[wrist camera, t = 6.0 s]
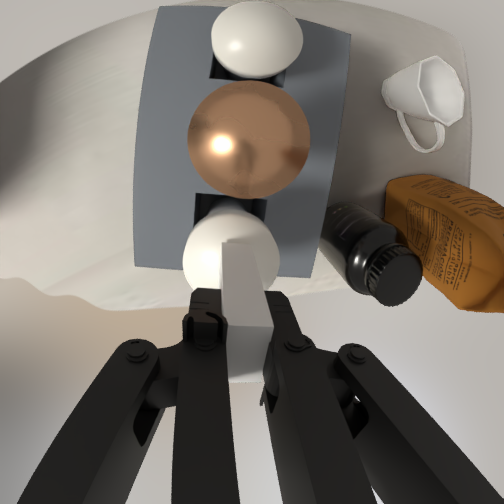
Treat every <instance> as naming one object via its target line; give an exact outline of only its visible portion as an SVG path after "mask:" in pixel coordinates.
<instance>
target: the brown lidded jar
mask: <svg viewBox="0 0 504 504" xmlns="http://www.w3.org/2000/svg"><path fill="white" fill-rule="evenodd" d="M187 144H188V151H189V155H190V159H191V161H192V164H193V166H194V167H195V169H196V171H197V172H198V174H199V175H200V176H201V178H202V179H203V180H204V181H205V182H206V183H207V184H209V185H210V186H211V187H212V188H214V189H216V190H217V191H219V192H221V193H223V194H226V195H228V196H232V197H235V198H242V199H255V198H262V197H266V196H269V195H272V194H274V193H276V192H278V191H280V190H282V189H283V188H285V187H286V186H288V185H289V184H290V183H291V182H292V181H293V180H294V179H295V178H296V177H297V176H298V174H299V173H300V172H301V170H302V168H303V167H304V165H305V163H306V160H307V157H308V154H309V149H310V130H309V125H308V122H307V119H306V116H305V114H304V112H303V110H302V109H301V107H300V106H299V104H298V103H297V102H296V101H295V100H294V99H293V98H292V97H291V96H290V95H289V94H288V93H286V92H285V91H283V90H282V89H280V88H278V87H276V86H274V85H271V84H269V83H265V82H261V81H252V80H246V81H237V82H233V83H230V84H226V85H224V86H222V87H220V88H218V89H216V90H215V91H213V92H212V93H210V94H209V95H208V96H207V97H206V98H205V99H204V100H203V101H202V102H201V103H200V104H199V106H198V107H197V109H196V110H195V112H194V114H193V116H192V118H191V121H190V124H189V129H188V136H187Z"/></svg>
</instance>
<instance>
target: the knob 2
mask: <svg viewBox="0 0 504 504" xmlns="http://www.w3.org/2000/svg"><path fill="white" fill-rule="evenodd" d="M222 242H226V243H239V244H251V246H252V250H253V253H254V257H255V260H256V264H257V267H258V271H259V275H260V278H261V282H262V285H263V289H264V291H267V290H268V289H269V287H270V286H271V285H272V284H273V282H274V280H275V279H276V276H277V274H278V270H279V266H280V255H279V250H278V247H277V244H276V242H275V240H274V238H273V236H272V234H271V232H270V230H269V229H268V227H267V226H266V225H265V224H264V223H263V222H262V221H261V220H260V219H259V218H257V217H256V216H254V215H252V214H250V213H248V212H247V211H246V208H245V207H244V205H243V204H242V203H241V202H240V201H238V200H236V199H234V198H228V197H226V198H221V199H218V200H216V201H215V202H213V203H212V204H211V205H210V207H209V208H208V210H207V214H206V217H204V218H203V219H201V220H200V221H199V222H198V223H197V224H196V225H195V226H194V228H193V229H192V231H191V232H190V234H189V237H188V239H187V243H186V246H185V250H184V254H183V270H184V274H185V277H186V279H187V281H188V283H189V284H190V286H191V287H192V288H193V289H194V290H195V289H196V288H197V287H199V288H213V289H218V277H219V265H220V254H221V243H222Z"/></svg>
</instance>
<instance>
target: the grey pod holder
mask: <svg viewBox="0 0 504 504" xmlns="http://www.w3.org/2000/svg"><path fill="white" fill-rule="evenodd" d="M227 8H228V7H215V6H160V7H159V9H158V13H157V17H156V20H155V24H154V28H153V32H152V37H151V41H150V46H149V51H148V55H147V61H146V66H145V71H144V77H143V84H142V90H141V97H140V105H139V113H138V122H137V132H136V144H135V158H134V179H133V240H134V261H135V266H137V267H149V268H161V269H173V270H183V254H184V250H185V246H186V243H187V239H188V237H189V234H190V232H191V231H192V229H193V228H194V226H195V225H196V224H197V223H198V222H199V221H200V220H201V219H203V218H204V217H206V214H207V210H208V208H209V207H210V205H211V204H212V203H213V202H215V201H216V200H218V199H221V198H226V197H228V198H234V199H236V200H238V201H240V202H241V203H242V204H243V205H244V207H245V208H246V211H247V212H248V213H250V214H252V215H254V216H256V217H257V218H259V219H260V220H261V221H262V222H263V223H264V224H265V225H266V226H267V227H268V229H269V230H270V232H271V234H272V236H273V238H274V240H275V242H276V244H277V247H278V250H279V255H280V266H279V270H278V274H277V276H279V277H298V278H310V277H311V273H312V269H313V265H314V261H315V257H316V253H317V248H318V244H319V240H320V235H321V231H322V226H323V221H324V217H325V212H326V207H327V202H328V197H329V192H330V187H331V182H332V176H333V171H334V165H335V159H336V153H337V147H338V141H339V135H340V128H341V121H342V114H343V107H344V99H345V91H346V83H347V74H348V64H349V53H350V41H351V34H348V33H345V32H342V31H339V30H336V29H333V28H330V27H327V26H324V25H320V24H317V23H313V22H309V21H305V20H301V19H297V18H295V19H296V20H297V22H298V23H299V25H300V27H301V30H302V34H303V45H302V49H301V52H300V54H299V55H298V57H297V58H296V59H295V60H294V61H293V62H292V63H291V64H290V65H289V66H288V67H287V68H286V69H285V70H283V71H282V72H280V73H278V74H277V75H274V76H271V77H268V78H261V79H260V80H259V81H261V82H265V83H269V84H271V85H274V86H276V87H278V88H280V89H282V90H283V91H285V92H286V93H288V94H289V95H290V96H291V97H292V98H293V99H294V100H295V101H296V102H297V103H298V104H299V106H300V107H301V109H302V110H303V112H304V114H305V116H306V119H307V122H308V125H309V130H310V149H309V154H308V157H307V160H306V163H305V165H304V167H303V168H302V170H301V172H300V173H299V174H298V176H297V177H296V178H295V179H294V180H293V181H292V182H291V183H290V184H289V185H288V186H286V187H285V188H283V189H282V190H280V191H278V192H276V193H274V194H272V195H269V196H266V197H262V198H255V199H242V198H235V197H232V196H228V195H226V194H223V193H221V192H219V191H217V190H216V189H214V188H212V187H211V186H210V185H209V184H207V183H206V182H205V181H204V180H203V179H202V178H201V176H200V175H199V174H198V172H197V171H196V169H195V167H194V166H193V164H192V161H191V159H190V155H189V151H188V144H187V136H188V129H189V124H190V121H191V118H192V116H193V114H194V112H195V110H196V109H197V107H198V106H199V104H200V103H201V102H202V101H203V100H204V99H205V98H206V97H207V96H208V95H209V94H210V93H212V92H213V91H215V90H216V89H218V88H220V87H222V86H224V85H226V84H230V83H233V82H237V81H232V80H230V79H229V78H228V77H227V75H226V73H225V68H224V67H223V66H222V65H221V64H220V63H219V62H218V60H217V59H216V57H215V55H214V52H213V49H212V38H211V32H212V27H213V24H214V22H215V20H216V19H217V17H218V16H219V15H220V14H221V13H222V12H223V11H224V10H225V9H227Z"/></svg>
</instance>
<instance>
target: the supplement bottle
mask: <svg viewBox="0 0 504 504" xmlns="http://www.w3.org/2000/svg"><path fill="white" fill-rule="evenodd" d="M318 248H319V249H320V251H321V252H322V253H323V255H324V256H325V257H326V258H327V260H328V261H329V262H330V263H331V264H332V266H333V267H334V268H335V269H336V270H337V272H338V273H339V274H340V275H341V276H342V278H343V279H344V280H345V281H346V283H347V284H348V285H349V286H350V287H351V288H352V289H353V290H354V291H356V292H358V293H360V294H363V295H372V296H373V297H375V298H376V299H377V300H378V301H379V302H380V303H381V304H383V305H384V306H389V307H390V306H392V307H393V306H398V305H399V304H402V303H403V302H405V301H407V299H409V298H410V297H411V296H412V295H413V294H414V292H415V291H416V290H417V288H418V286H419V285H420V282H421V280H422V276H423V264H422V260H421V259H420V257H419V256H418V255H416V253H414V252H413V251H412V250H411V249H410V248H409V244H408V241H407V238H406V236H405V235H404V233H403V232H402V231H401V230H400V229H399V228H398V227H396V226H395V225H393V224H391V223H390V222H388V221H386V220H385V219H383V218H381V217H379V216H378V215H376V214H374V213H372V212H370V211H369V210H367V209H365V208H363V207H361V206H359V205H357V204H355V203H351V202H341V203H337V204H334V205H333V206H331V207H329V208H328V209H327V210H326V212H325V217H324V221H323V226H322V231H321V235H320V240H319V244H318Z"/></svg>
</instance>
